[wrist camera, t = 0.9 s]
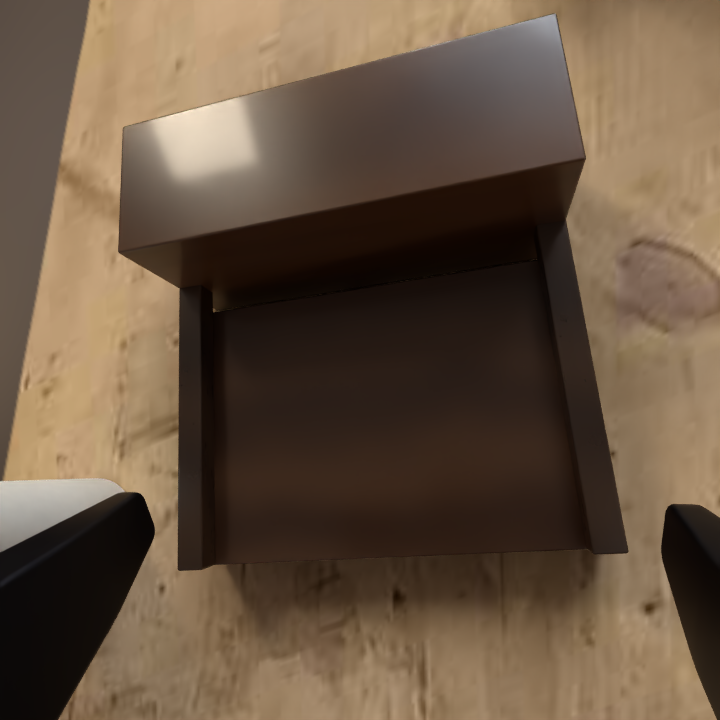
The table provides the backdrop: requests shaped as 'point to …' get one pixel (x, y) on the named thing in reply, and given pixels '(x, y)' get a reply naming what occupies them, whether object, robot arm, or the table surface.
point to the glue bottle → (46, 504)
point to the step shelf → (379, 310)
